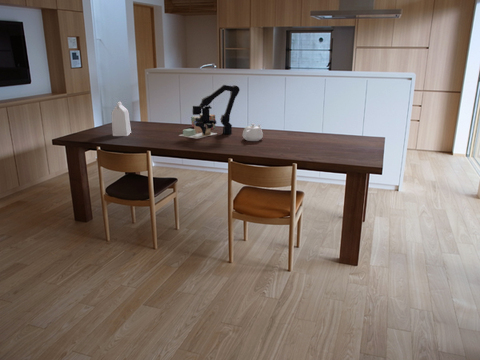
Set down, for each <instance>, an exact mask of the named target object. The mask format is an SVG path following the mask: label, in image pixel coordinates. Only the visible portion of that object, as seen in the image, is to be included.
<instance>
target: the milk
mask: <svg viewBox="0 0 480 360" xmlns="http://www.w3.org/2000/svg"><path fill="white" fill-rule="evenodd" d="M111 111H112V112H111V127H112V128H111V129H112V136H113V137H128V136H129V135H130V133H131V134H132V130H131V121H130V120H131V119H130V114H129V110H128V108H126V107H125V106H124V105H123V103H122V101H118V102H117V103H116V106H114V107H113V110H111Z"/></svg>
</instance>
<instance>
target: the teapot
mask: <svg viewBox="0 0 480 360" xmlns="http://www.w3.org/2000/svg"><path fill="white" fill-rule="evenodd" d="M242 137H243V139H244V140H246V141H248V142H259V141H260V140H261V139H262V138H263V137H264V133H263V130H262V127H261V124H258V125H256V124H255V123H251V125H246V126H245V128H244V129H243V131H242Z"/></svg>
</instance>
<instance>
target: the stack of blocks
mask: <svg viewBox="0 0 480 360" xmlns="http://www.w3.org/2000/svg"><path fill="white" fill-rule="evenodd" d="M209 115H210V116H211V117H210V120H216V114H211V113H209ZM201 116H202V113H201V114H200V115H199V116H198V115H193V116H192V117H191V119H190V120H191V127H192V128H194V126H196V123H197V122H196V120H195V119H196V118H197V117H198V118H201ZM202 123H203V122H202ZM212 124H213V123H212ZM205 126H206V128H207V125H205ZM214 129H216V124H213V127H212V129H211V130H214Z"/></svg>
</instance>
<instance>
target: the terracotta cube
mask: <svg viewBox="0 0 480 360" xmlns="http://www.w3.org/2000/svg"><path fill="white" fill-rule="evenodd" d="M193 129H195V131H196V133H201V132H202V129H201V128H200V127H197V126H194V127H193Z"/></svg>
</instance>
